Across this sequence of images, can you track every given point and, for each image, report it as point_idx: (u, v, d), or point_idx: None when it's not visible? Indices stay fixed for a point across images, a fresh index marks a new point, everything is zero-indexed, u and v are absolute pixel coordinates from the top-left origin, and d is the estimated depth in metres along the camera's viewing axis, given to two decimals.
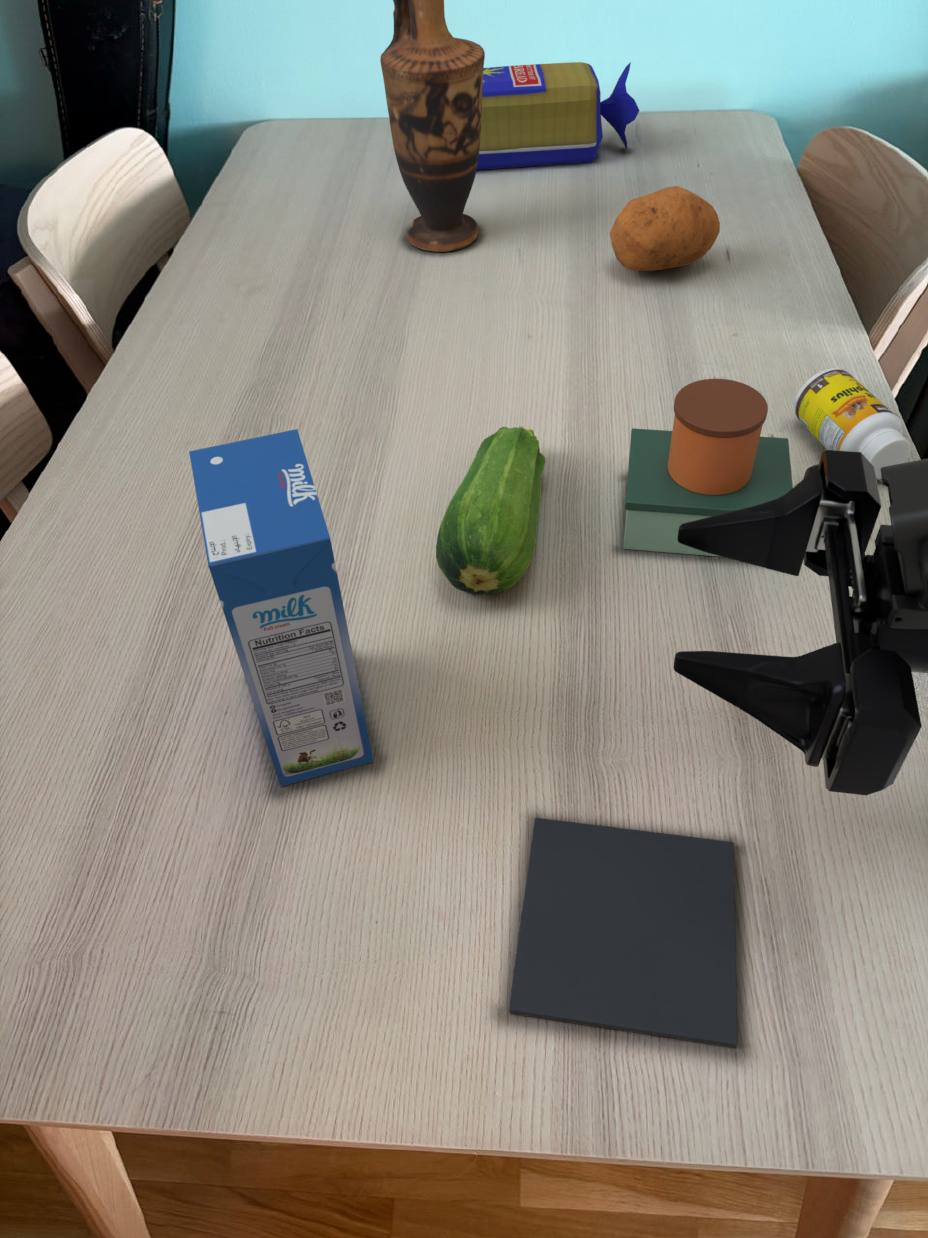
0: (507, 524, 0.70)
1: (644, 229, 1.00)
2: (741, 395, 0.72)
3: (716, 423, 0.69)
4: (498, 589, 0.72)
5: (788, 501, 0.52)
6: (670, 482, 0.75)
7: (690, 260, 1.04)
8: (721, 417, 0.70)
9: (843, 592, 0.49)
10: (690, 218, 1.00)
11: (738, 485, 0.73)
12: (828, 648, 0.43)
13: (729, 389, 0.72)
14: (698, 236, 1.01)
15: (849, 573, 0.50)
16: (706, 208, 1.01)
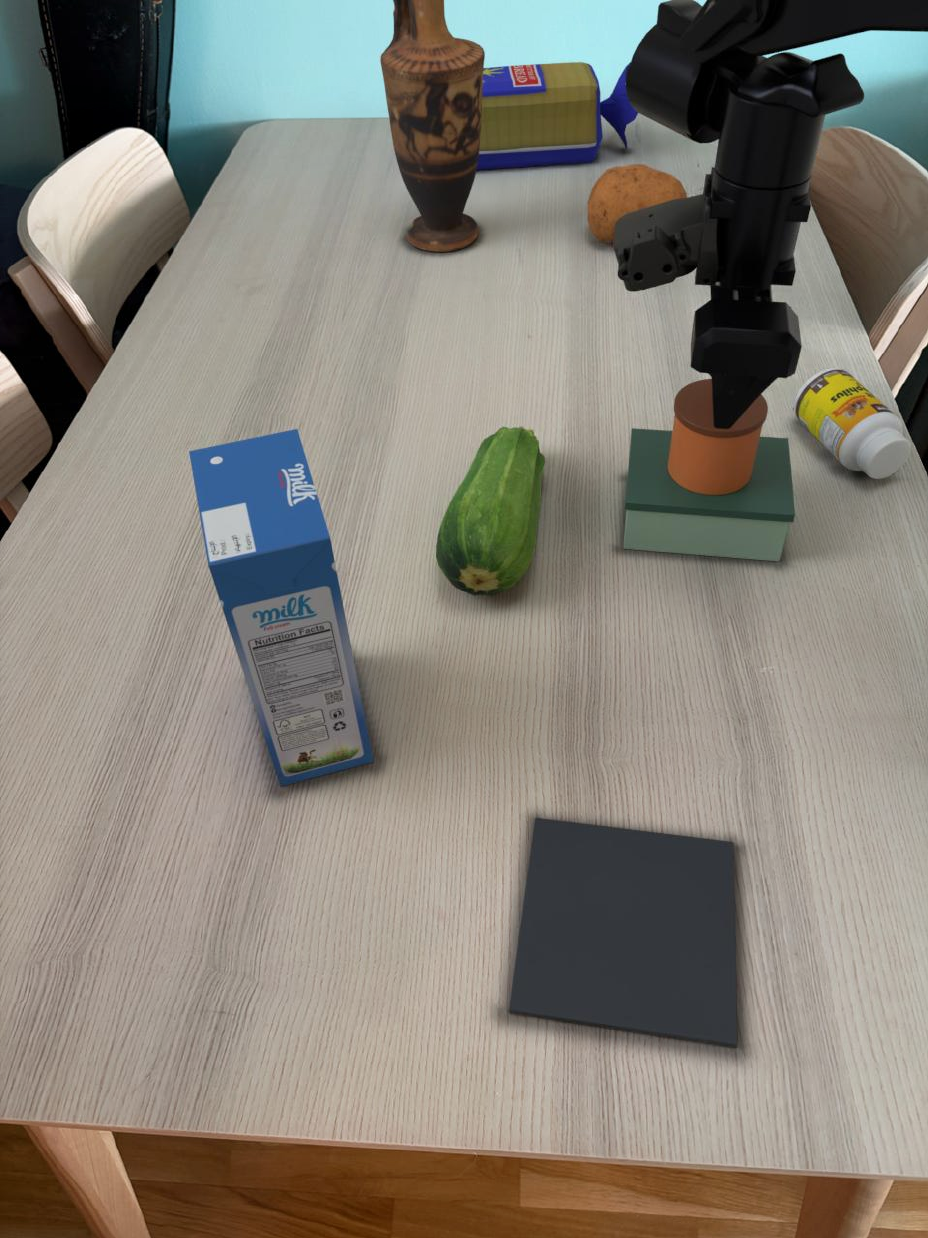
0: (507, 524, 0.70)
1: None
2: None
3: None
4: (498, 589, 0.72)
5: None
6: (670, 482, 0.75)
7: (662, 180, 1.07)
8: None
9: None
10: None
11: (738, 485, 0.73)
12: None
13: None
14: None
15: None
16: None
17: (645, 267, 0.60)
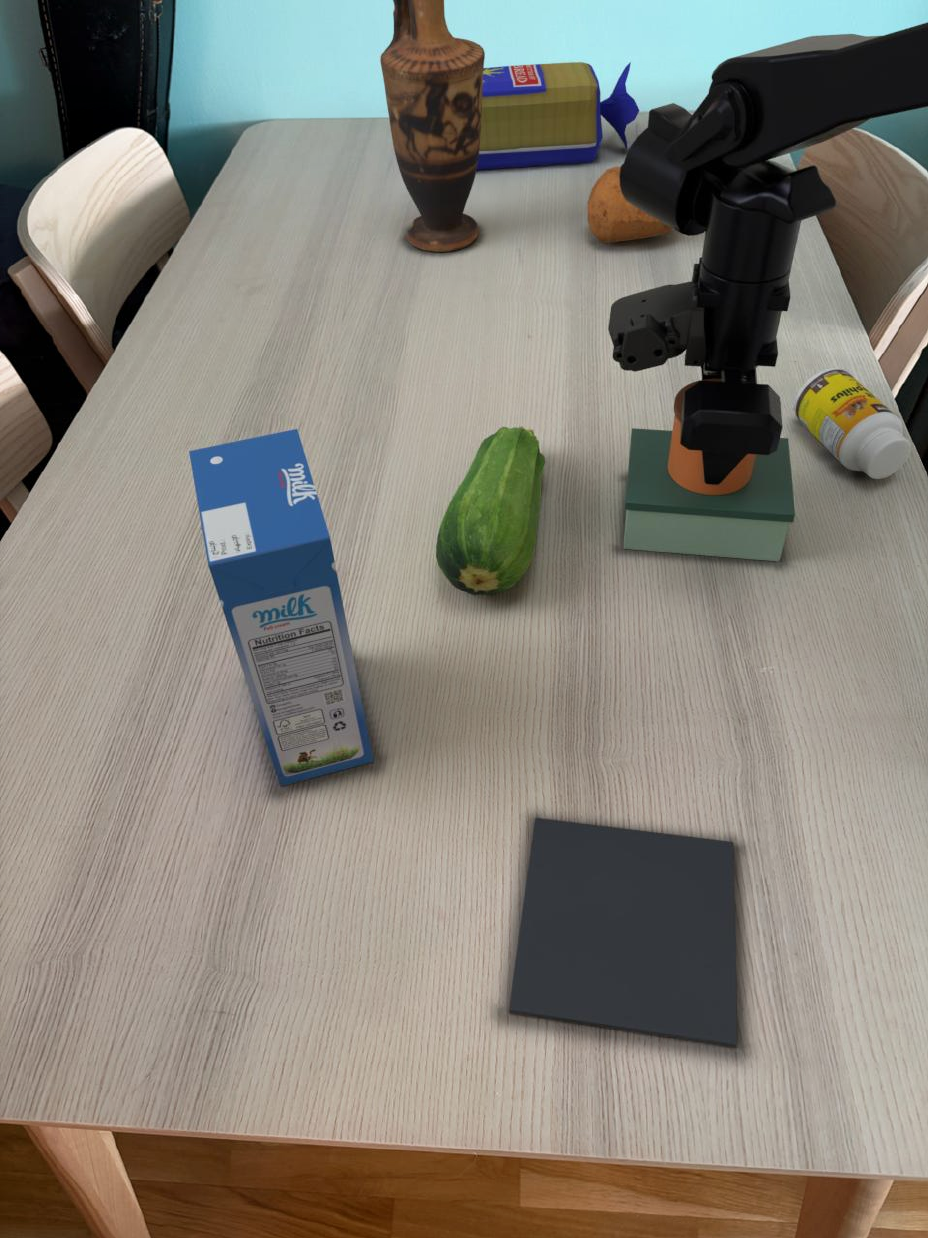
0: (507, 524, 0.70)
1: None
2: None
3: None
4: (498, 589, 0.72)
5: None
6: (670, 482, 0.75)
7: None
8: None
9: None
10: None
11: (738, 485, 0.73)
12: None
13: None
14: None
15: None
16: None
17: (638, 351, 0.64)
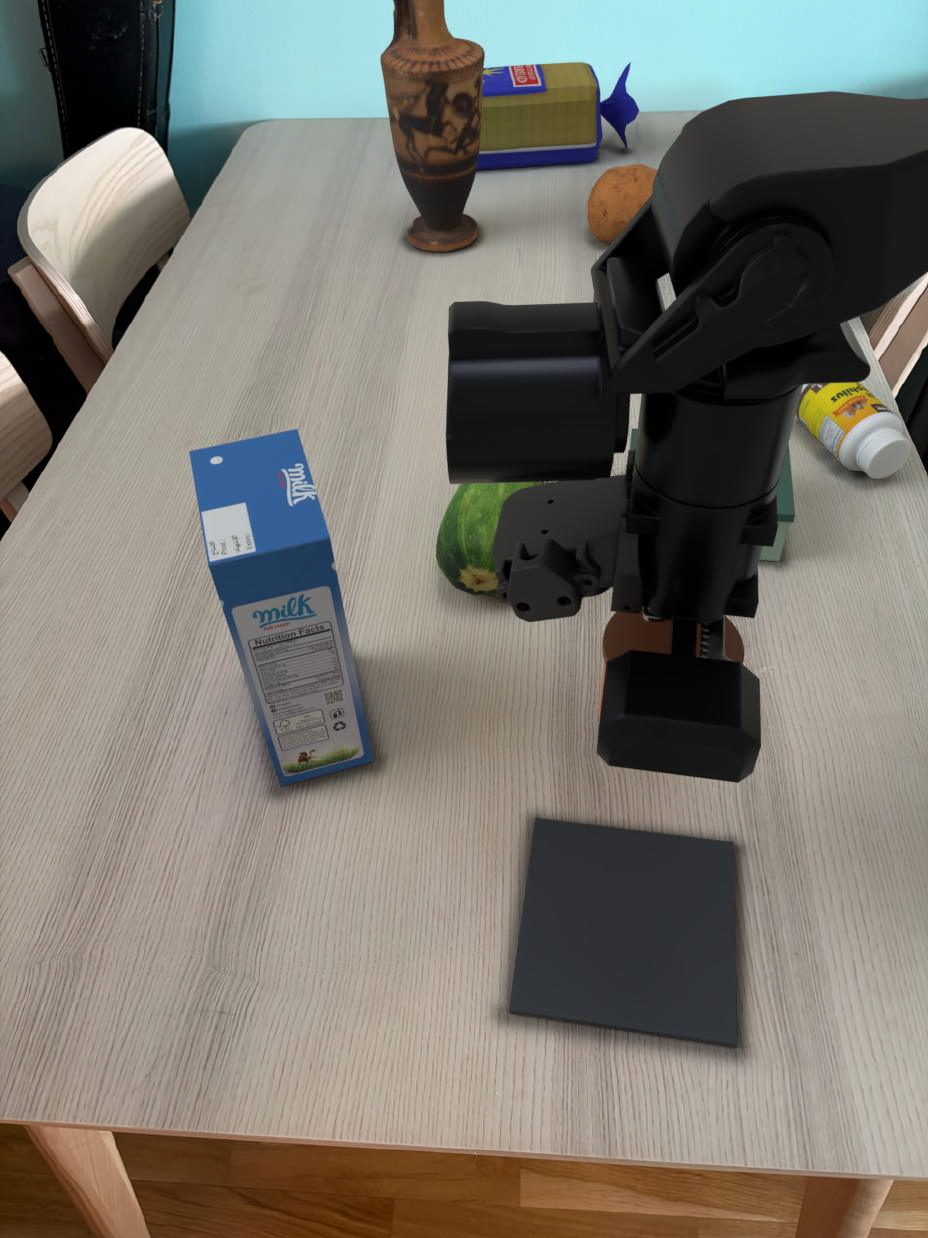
0: None
1: None
2: None
3: None
4: None
5: None
6: None
7: None
8: None
9: None
10: None
11: None
12: None
13: None
14: None
15: None
16: None
17: (532, 598, 0.40)
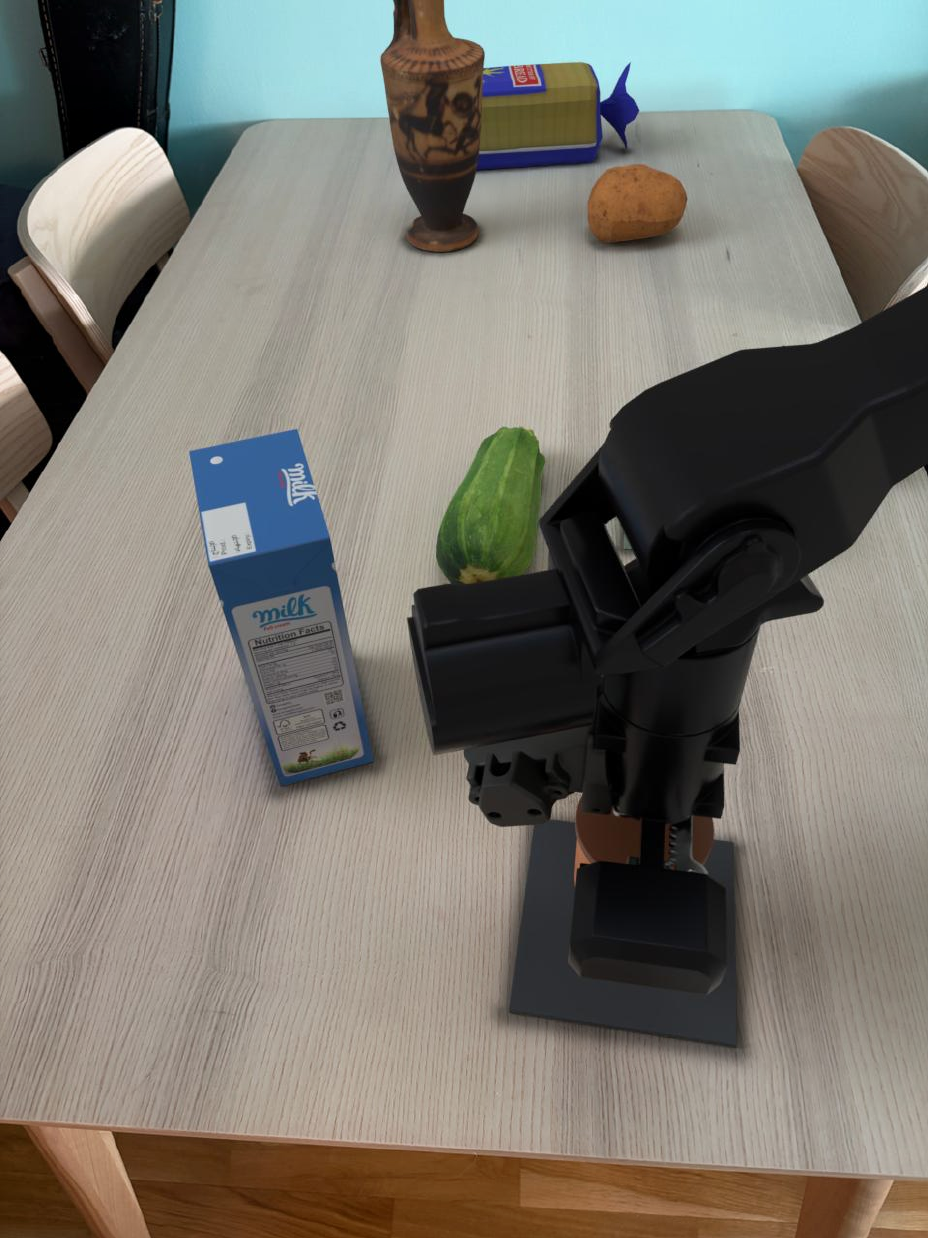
0: (507, 524, 0.70)
1: None
2: None
3: None
4: None
5: None
6: None
7: (662, 180, 1.07)
8: None
9: None
10: None
11: None
12: None
13: None
14: None
15: None
16: None
17: (503, 809, 0.41)
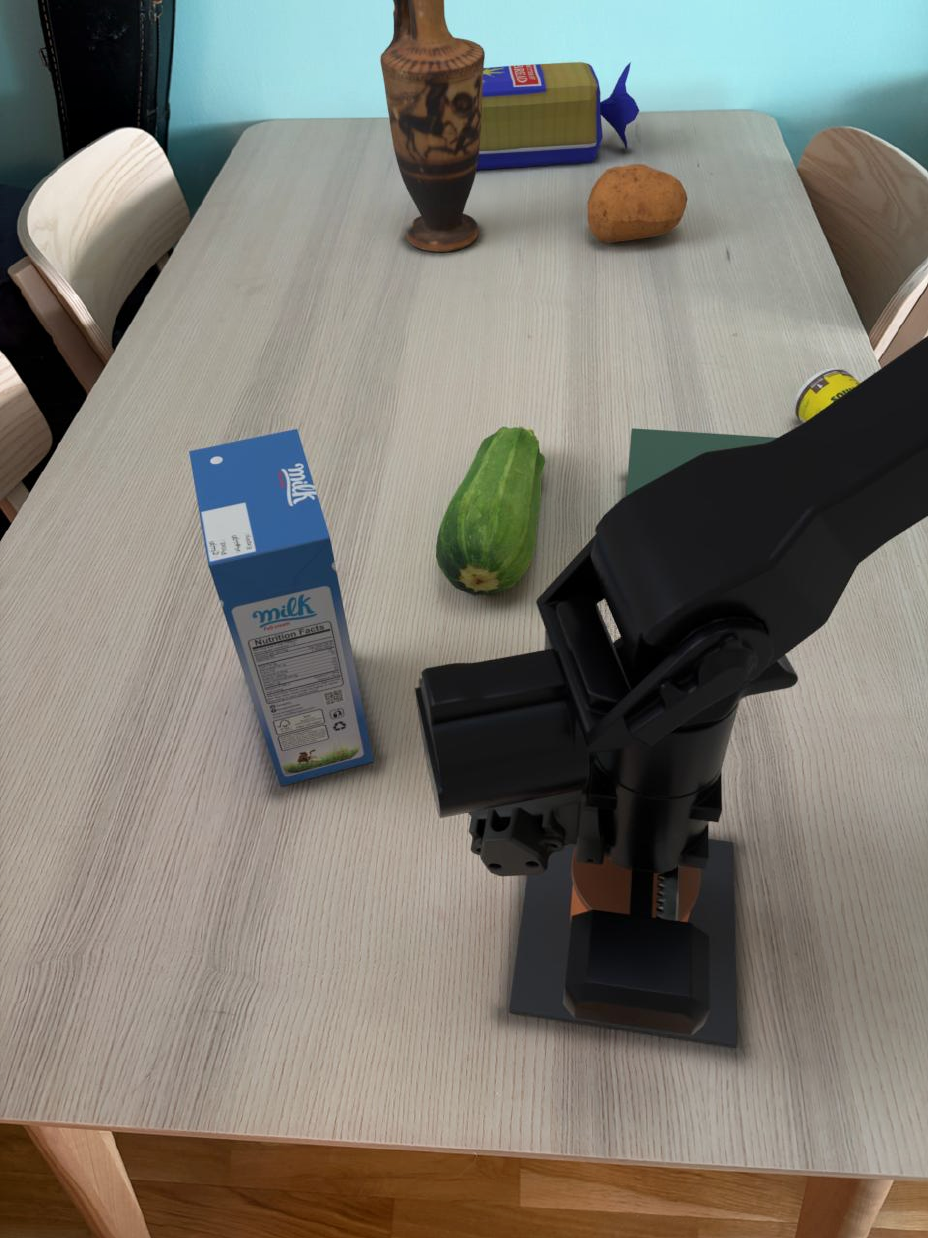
0: (507, 524, 0.70)
1: None
2: None
3: (627, 912, 0.49)
4: (498, 589, 0.72)
5: None
6: None
7: (662, 180, 1.07)
8: None
9: None
10: None
11: None
12: None
13: None
14: None
15: None
16: None
17: (502, 861, 0.44)
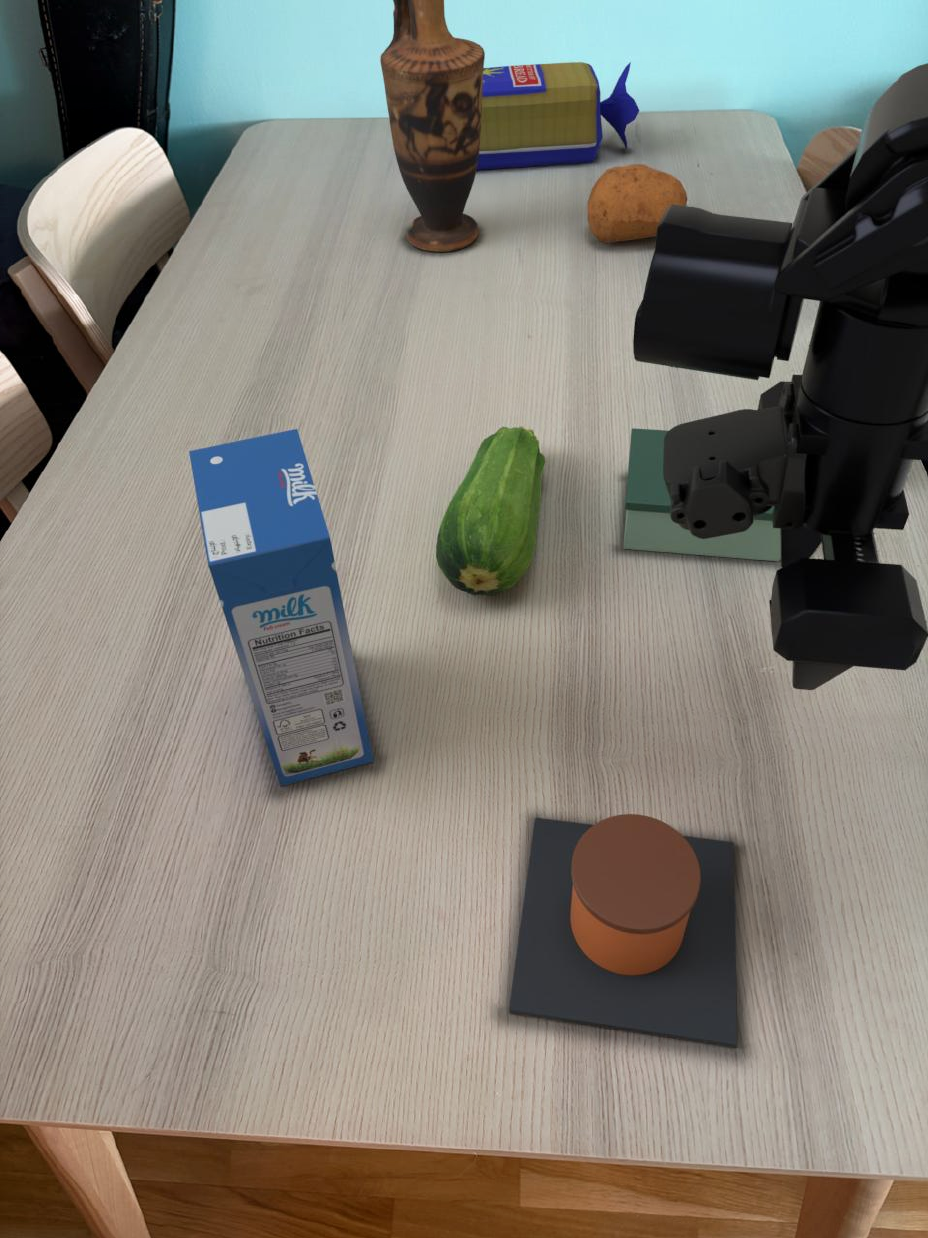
0: (507, 524, 0.70)
1: None
2: (665, 851, 0.52)
3: (627, 912, 0.49)
4: (498, 589, 0.72)
5: None
6: None
7: (662, 180, 1.07)
8: (634, 898, 0.50)
9: None
10: None
11: (663, 963, 0.53)
12: None
13: (649, 838, 0.52)
14: None
15: None
16: None
17: (709, 515, 0.45)
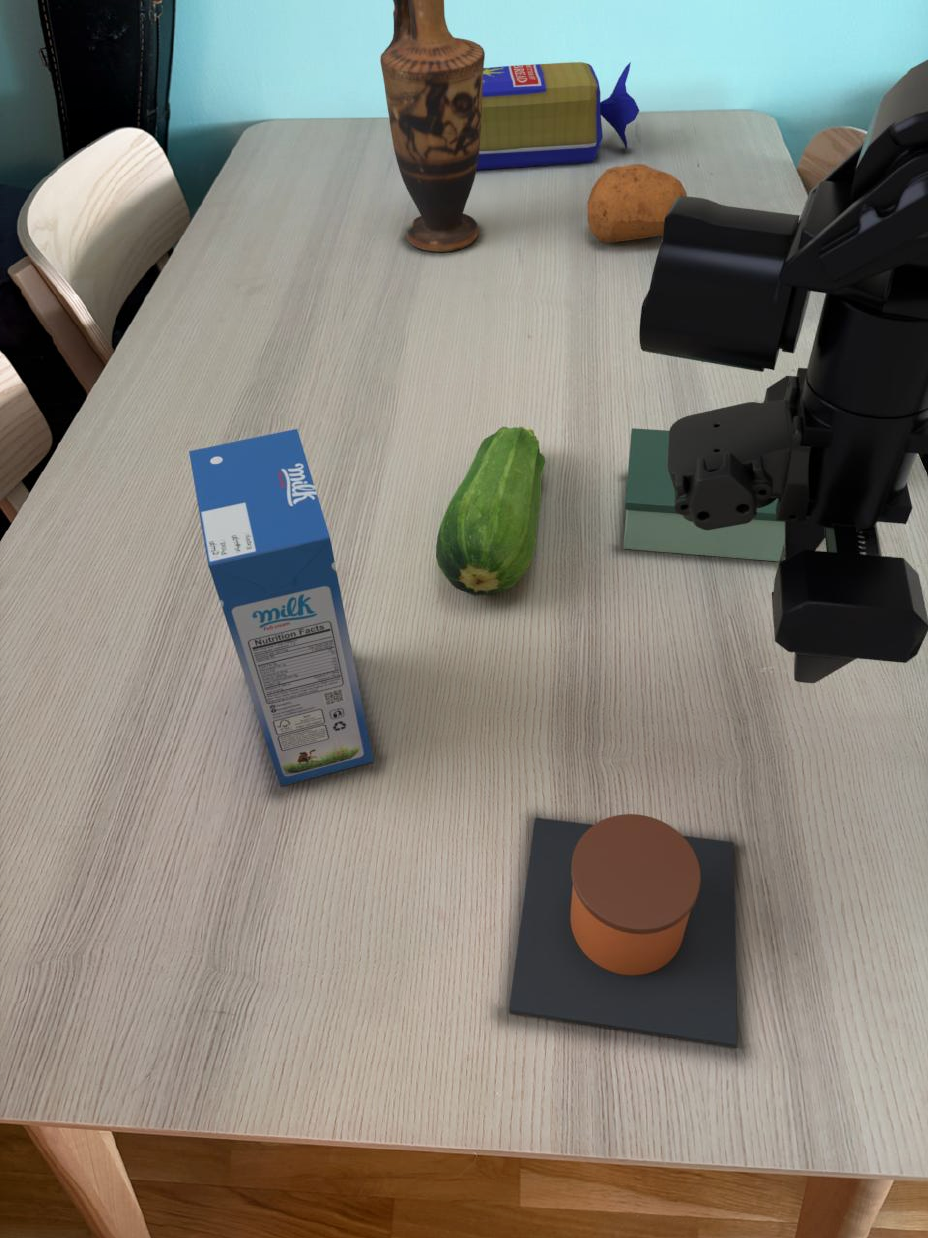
0: (507, 524, 0.70)
1: None
2: (665, 851, 0.52)
3: (627, 912, 0.49)
4: (498, 589, 0.72)
5: None
6: (670, 482, 0.75)
7: (662, 180, 1.07)
8: (634, 898, 0.50)
9: None
10: None
11: (663, 963, 0.53)
12: None
13: (649, 838, 0.52)
14: None
15: None
16: None
17: (713, 506, 0.45)
